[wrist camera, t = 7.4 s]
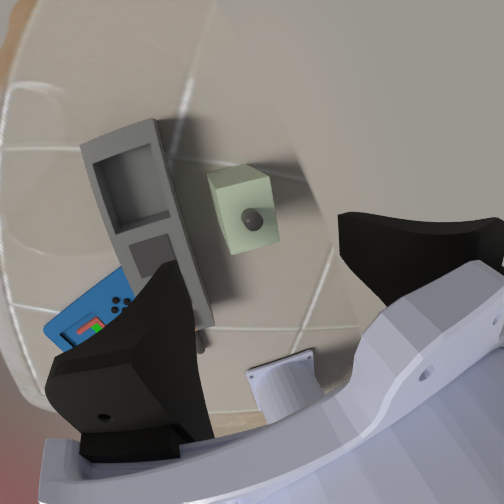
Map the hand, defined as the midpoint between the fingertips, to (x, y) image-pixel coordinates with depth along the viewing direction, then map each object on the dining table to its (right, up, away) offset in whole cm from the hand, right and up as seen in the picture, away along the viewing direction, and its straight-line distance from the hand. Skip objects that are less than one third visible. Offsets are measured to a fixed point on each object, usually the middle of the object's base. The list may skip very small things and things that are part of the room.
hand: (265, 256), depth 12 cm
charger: (-2, +5, +9) cm, 10 cm away
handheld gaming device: (-14, -6, +12) cm, 19 cm away
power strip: (-8, 0, +10) cm, 13 cm away
